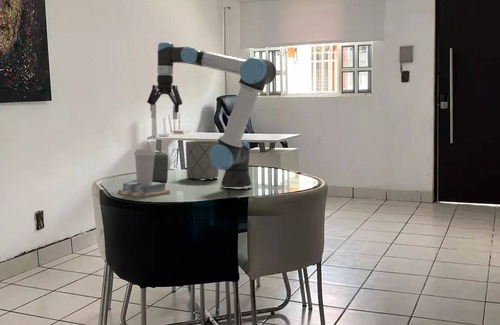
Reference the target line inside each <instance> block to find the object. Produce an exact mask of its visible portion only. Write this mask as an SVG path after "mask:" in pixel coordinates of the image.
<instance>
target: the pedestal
mask: <svg viewBox="0 0 500 325" xmlns="http://www.w3.org/2000/svg"><path fill="white" fill-rule="evenodd" d="M117 194H119V195H124V196H132V197H139V198H145V199H146V198H152V197H159V196H164V195H169V194H170V190H169V189H166V182H152V184H137V181H133V182H132V181H131V182H124V183H123V184H122V189H118V190H117Z"/></svg>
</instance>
